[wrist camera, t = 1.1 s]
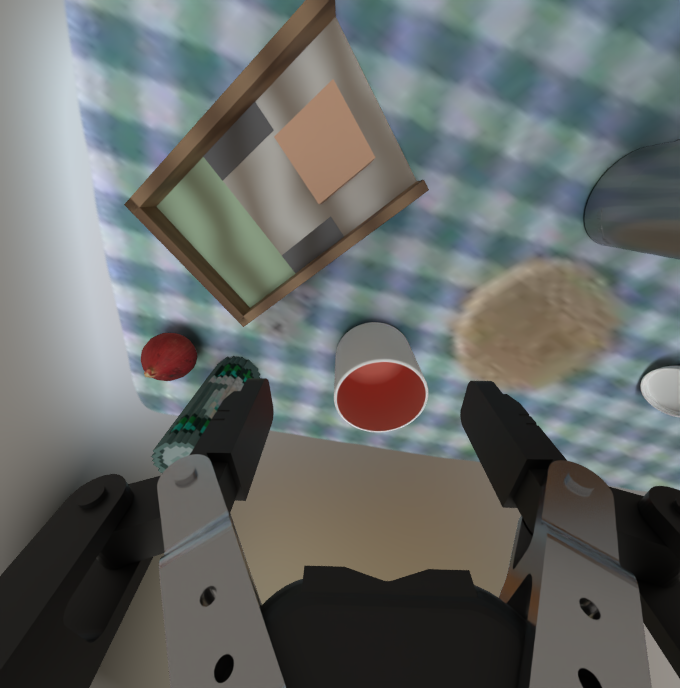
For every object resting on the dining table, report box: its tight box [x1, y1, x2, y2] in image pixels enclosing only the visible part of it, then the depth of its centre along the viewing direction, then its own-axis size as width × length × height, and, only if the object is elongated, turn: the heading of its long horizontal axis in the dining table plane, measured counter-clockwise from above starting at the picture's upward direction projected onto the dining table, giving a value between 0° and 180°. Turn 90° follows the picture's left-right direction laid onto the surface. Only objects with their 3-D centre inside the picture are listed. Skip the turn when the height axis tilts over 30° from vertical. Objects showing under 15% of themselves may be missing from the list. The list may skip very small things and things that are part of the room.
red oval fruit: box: [141, 333, 197, 381], centre depth 33 cm, size 6×6×8 cm
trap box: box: [124, 0, 429, 327], centre depth 27 cm, size 24×16×3 cm, turn 126°
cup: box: [334, 322, 428, 432], centre depth 33 cm, size 10×10×10 cm
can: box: [152, 356, 260, 473], centre depth 33 cm, size 6×6×15 cm
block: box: [274, 79, 376, 204], centre depth 24 cm, size 6×6×4 cm
